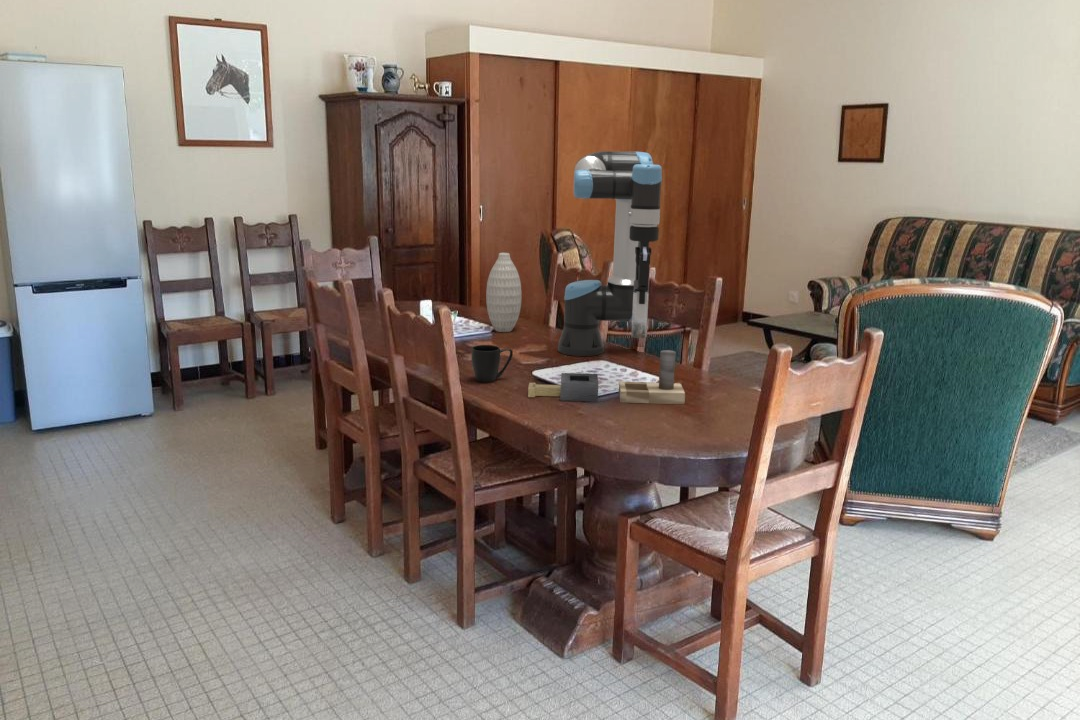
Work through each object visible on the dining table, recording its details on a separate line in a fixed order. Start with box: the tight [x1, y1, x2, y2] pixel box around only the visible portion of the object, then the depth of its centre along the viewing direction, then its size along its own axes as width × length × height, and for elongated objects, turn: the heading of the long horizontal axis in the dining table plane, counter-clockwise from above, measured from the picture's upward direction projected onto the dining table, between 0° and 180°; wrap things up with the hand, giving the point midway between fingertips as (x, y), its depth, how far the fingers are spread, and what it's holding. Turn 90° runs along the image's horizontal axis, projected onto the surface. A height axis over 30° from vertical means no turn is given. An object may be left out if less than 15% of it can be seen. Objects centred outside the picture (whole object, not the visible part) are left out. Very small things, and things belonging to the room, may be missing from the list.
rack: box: [618, 349, 686, 405], centre depth 232 cm, size 10×17×13 cm, turn 88°
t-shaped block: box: [527, 382, 561, 398], centre depth 234 cm, size 6×11×2 cm, turn 88°
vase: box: [485, 252, 522, 333], centre depth 310 cm, size 13×13×28 cm
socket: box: [559, 372, 600, 403], centre depth 233 cm, size 10×10×5 cm
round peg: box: [630, 280, 650, 339], centre depth 227 cm, size 4×4×15 cm
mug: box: [471, 344, 514, 384], centre depth 247 cm, size 8×12×10 cm
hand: (640, 313), depth 228 cm, fingers closed on round peg, 4 cm apart
